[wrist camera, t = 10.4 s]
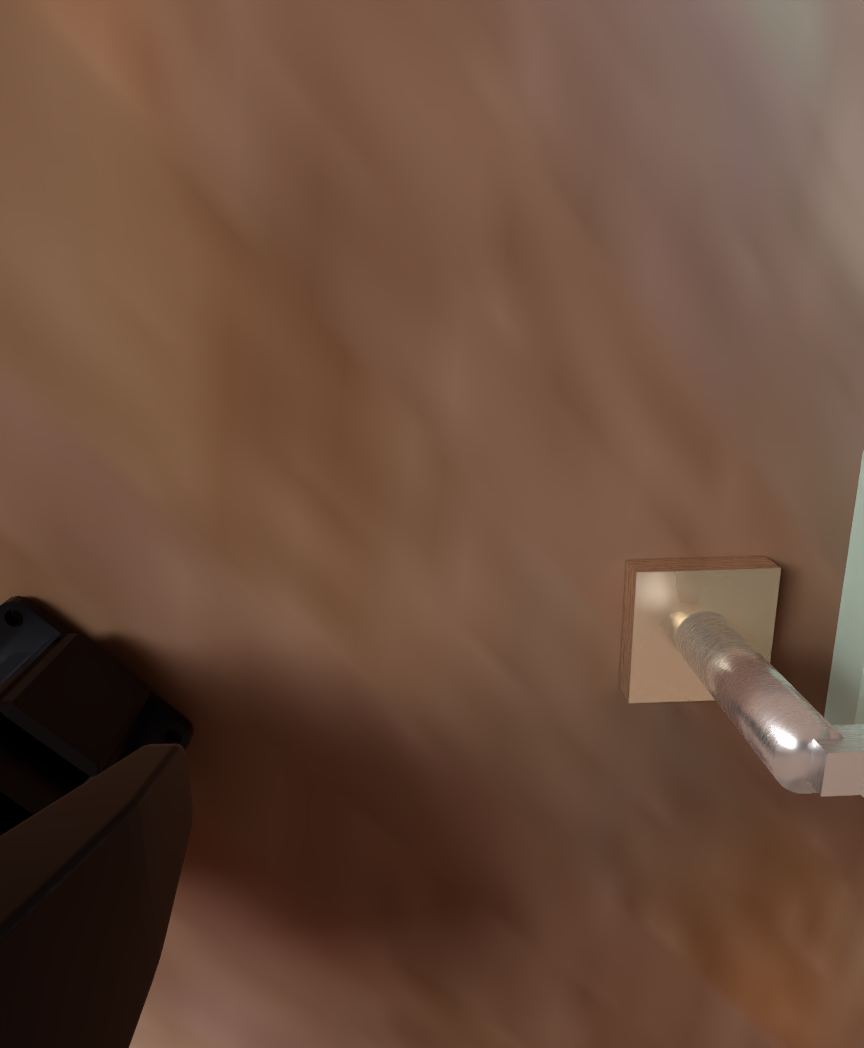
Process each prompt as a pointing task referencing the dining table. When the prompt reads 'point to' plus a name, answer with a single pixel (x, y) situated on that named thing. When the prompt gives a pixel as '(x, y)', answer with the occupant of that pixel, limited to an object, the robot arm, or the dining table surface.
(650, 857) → the dining table surface
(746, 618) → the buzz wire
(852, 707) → the mint green frame
